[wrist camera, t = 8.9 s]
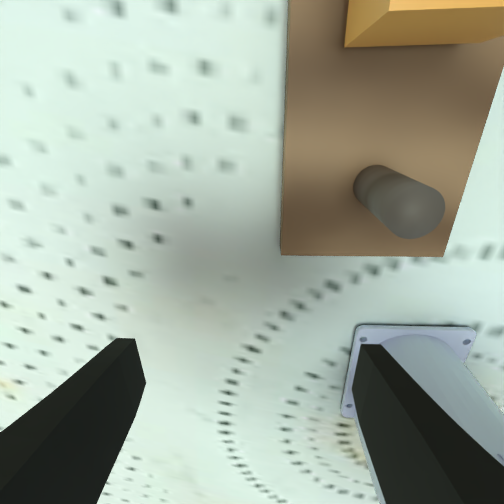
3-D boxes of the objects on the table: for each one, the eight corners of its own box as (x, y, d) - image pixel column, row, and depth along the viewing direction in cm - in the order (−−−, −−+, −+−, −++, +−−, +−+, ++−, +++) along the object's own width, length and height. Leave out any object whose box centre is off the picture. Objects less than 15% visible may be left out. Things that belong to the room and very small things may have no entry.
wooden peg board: (429, 245, 17) (503, 306, 12) (279, 244, 18) (286, 302, 12) (546, -161, 10) (860, -467, 5) (293, -147, 11) (321, -415, 5)
